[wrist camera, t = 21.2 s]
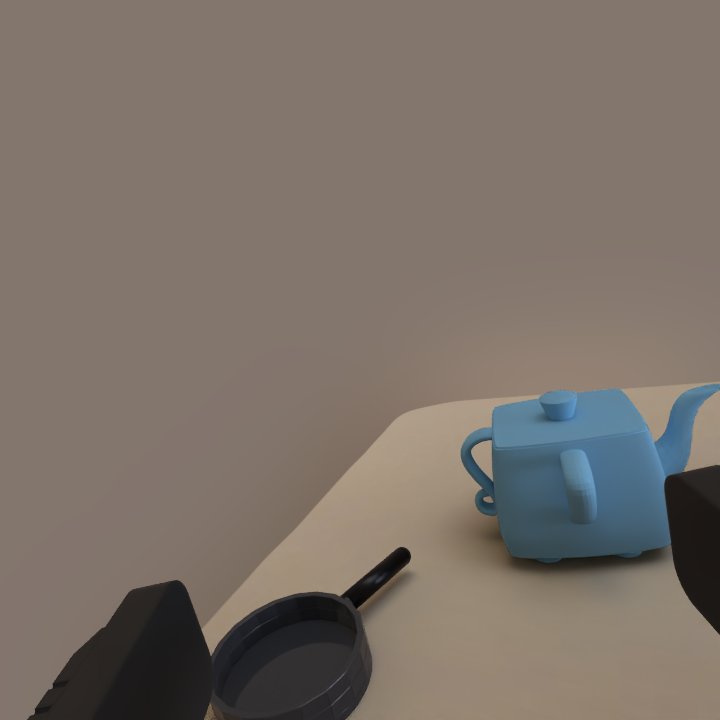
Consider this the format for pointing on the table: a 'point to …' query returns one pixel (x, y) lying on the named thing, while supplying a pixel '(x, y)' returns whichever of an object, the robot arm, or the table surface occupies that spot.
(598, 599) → the table surface
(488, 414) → the table surface
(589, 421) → the teapot
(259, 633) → the steel pan
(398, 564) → the pan handle
